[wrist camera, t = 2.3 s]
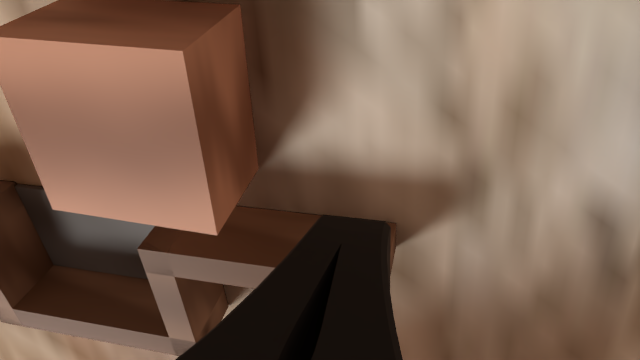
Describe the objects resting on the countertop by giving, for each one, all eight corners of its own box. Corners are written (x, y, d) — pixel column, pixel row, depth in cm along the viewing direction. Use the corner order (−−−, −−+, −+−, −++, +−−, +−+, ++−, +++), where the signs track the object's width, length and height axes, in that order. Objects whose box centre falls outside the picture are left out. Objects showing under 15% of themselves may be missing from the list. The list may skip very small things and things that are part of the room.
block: (260, 165, 19) (217, 235, 16) (118, 147, 20) (52, 209, 17) (242, 2, 16) (182, 50, 12) (72, -7, 17) (-21, 35, 14)
